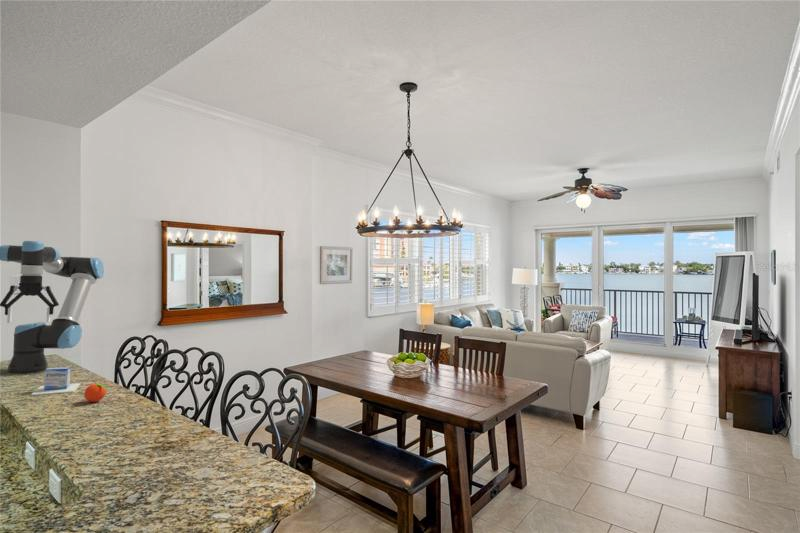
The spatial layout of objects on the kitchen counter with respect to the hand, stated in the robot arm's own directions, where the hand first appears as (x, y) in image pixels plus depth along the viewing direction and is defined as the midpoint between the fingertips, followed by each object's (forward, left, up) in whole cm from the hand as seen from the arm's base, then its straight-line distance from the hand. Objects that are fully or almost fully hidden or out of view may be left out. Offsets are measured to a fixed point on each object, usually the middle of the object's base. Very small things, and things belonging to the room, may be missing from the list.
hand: (29, 322), depth 192 cm
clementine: (+45, +32, -27) cm, 61 cm away
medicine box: (+20, +15, -26) cm, 36 cm away
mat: (+20, +15, -27) cm, 37 cm away
